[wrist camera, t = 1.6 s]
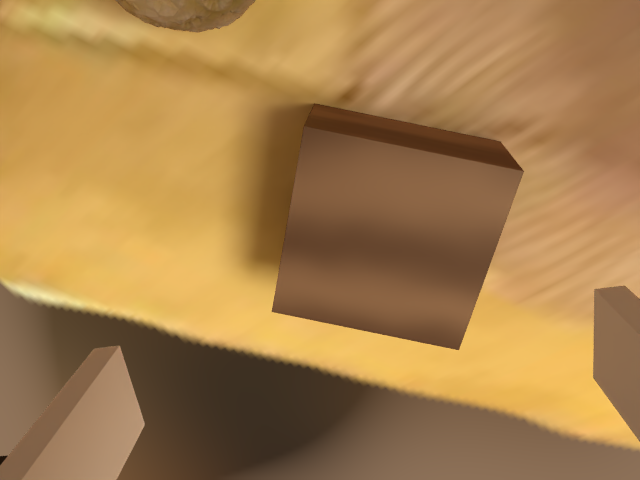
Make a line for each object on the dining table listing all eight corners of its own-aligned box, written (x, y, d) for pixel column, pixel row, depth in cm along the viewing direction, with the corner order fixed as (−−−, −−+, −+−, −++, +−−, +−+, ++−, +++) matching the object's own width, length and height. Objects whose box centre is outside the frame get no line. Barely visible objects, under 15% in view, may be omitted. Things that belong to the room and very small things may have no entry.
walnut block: (314, 103, 35) (304, 126, 30) (500, 141, 35) (523, 171, 30) (285, 267, 40) (271, 311, 35) (447, 300, 40) (458, 350, 35)
